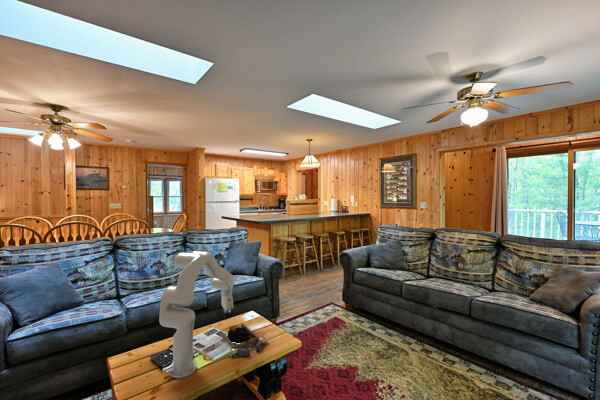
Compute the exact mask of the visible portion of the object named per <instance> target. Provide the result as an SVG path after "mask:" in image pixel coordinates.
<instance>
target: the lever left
mask: <svg viewBox="0 0 600 400" xmlns="http://www.w3.org/2000/svg"><path fill="white" fill-rule="evenodd" d="M229 348H230V347H229ZM250 352H251V351H250V349H246V348H243V349H241V348H238V347H232V348H230V349H229V355H230V356H237V355H238V356H237V357H240V356H241V357H250V355H251V353H250Z"/></svg>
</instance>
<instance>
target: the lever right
mask: <svg viewBox="0 0 600 400" xmlns="http://www.w3.org/2000/svg"><path fill="white" fill-rule="evenodd" d="M258 338H259V342H258V343H256V344H257V345H256V344H255V345H256V349H255V352H256V353H259V352H260V350H261V349H262V347H263V346H262V345H264V344H266V341H267V337H266V336H264V335H261V336H258ZM264 346H265V345H264Z"/></svg>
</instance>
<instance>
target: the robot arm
mask: <svg viewBox="0 0 600 400" xmlns="http://www.w3.org/2000/svg"><path fill="white" fill-rule="evenodd" d="M173 263H174V265H175V266H176V267H177V268H178V269H182V270H181V272H180V273H179V275H178V277H177V283H176V285H169V286H167V287H165V288H164V290H163V291H162V294H161V298H160V306H159V307H160V308H159V315H158V316H159V318H158V319H159V324H160V325H161V326H162V327H164V328H173V329H176V331H175V333H174V334H173V337H172V362H171V364H170V365H169V366H166V367H163V368H162V373H163V374H164V373H166V374H169V375H170V377H172V378H174V379H182V378H186V377H189V376H190V375H192V374H194V372H195V371H196V370H197V362H196V361H194V326H195V320H196V313H195V311H194V310H192V309H190V308H186V307H188V306H190V305H192V303H193V301H194V295H195V285H196V279H197V276H198V274H199V272H200V271H201V270H202V269H203V271H204V272H205V274H206V275H207V276H208V277H210V278H212V280H211V281H210V283H211V284H210V286H211V287H212V288H213V289H215V290H220V295H221V304H220V305H221V306H222V308H223V312H224V313H223V314H224V316H223V319H224V320H228V319H229V320H230V318H231V317H230V315H231V312H232V311H231V310H233V309H234V298H233V288H234V285H235V281H234V278H233V274H232V273H230V271H228V270H227V269H225V268H224V267H222V266H221V265H219V263H218V261H217V260H216V258H215V257H214V254H213V253H212V252H210V251H206V250H191V251H183V252H180V253H178V254H176V256H175V257H174V262H173ZM176 306H178V307H176Z"/></svg>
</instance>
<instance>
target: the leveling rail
mask: <svg viewBox="0 0 600 400" xmlns="http://www.w3.org/2000/svg"><path fill="white" fill-rule="evenodd" d="M268 344H270V342H269V341H267V340H266V344H264V345H262V347H264V346H266V345H268ZM256 345H257V343H256V344H253V345H250V346H248V347H245V349H250V352H251V351H255V350H256ZM237 357H239V356H238V355H237V356H230V354H228V355H227V358H228V359H229V360H232V359H234V358H237Z"/></svg>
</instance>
